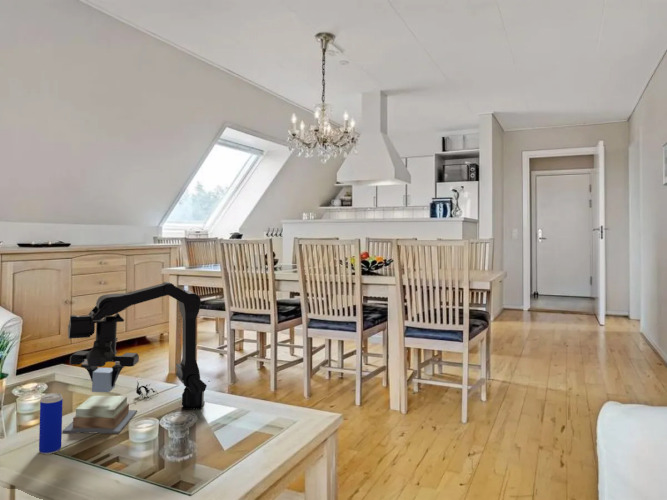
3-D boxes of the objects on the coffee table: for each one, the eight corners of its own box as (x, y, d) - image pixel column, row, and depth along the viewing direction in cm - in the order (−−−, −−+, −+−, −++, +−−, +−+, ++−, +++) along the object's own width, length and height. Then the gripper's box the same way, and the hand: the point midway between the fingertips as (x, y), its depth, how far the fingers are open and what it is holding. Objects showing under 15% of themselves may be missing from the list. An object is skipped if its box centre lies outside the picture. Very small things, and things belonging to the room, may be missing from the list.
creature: (156, 394, 174) (133, 391, 171) (160, 380, 174) (137, 377, 171) (157, 402, 167) (133, 399, 164) (161, 387, 167) (137, 384, 164)
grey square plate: (137, 412, 155) (137, 410, 155) (118, 433, 139) (119, 431, 139) (86, 411, 153) (86, 409, 153) (62, 432, 137) (62, 430, 137)
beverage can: (58, 444, 130) (59, 391, 129) (63, 451, 127) (65, 396, 126) (36, 449, 127) (38, 395, 126) (41, 457, 123) (43, 400, 122)
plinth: (128, 412, 152) (129, 395, 152) (114, 428, 140) (115, 410, 140) (90, 411, 151) (90, 395, 151) (72, 427, 139) (73, 409, 139)
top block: (115, 386, 148) (115, 368, 148) (108, 392, 143) (109, 372, 143) (98, 386, 148) (99, 367, 147) (91, 391, 143) (92, 372, 142)
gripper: (61, 341, 136) (59, 394, 137) (128, 343, 138) (125, 396, 138) (79, 332, 147) (77, 381, 148) (140, 335, 149) (138, 383, 149)
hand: (103, 386), depth 145 cm, fingers closed on top block, 5 cm apart
